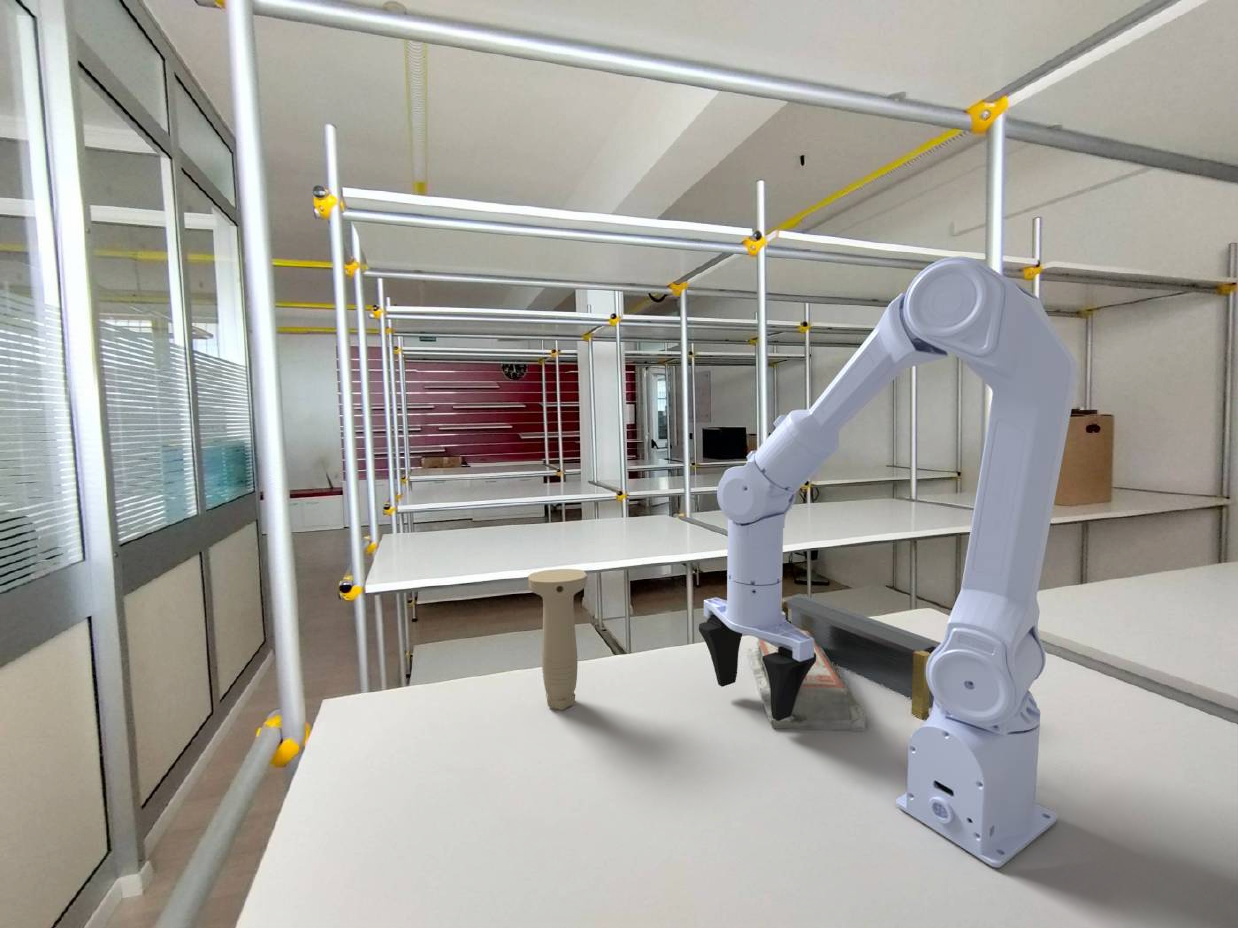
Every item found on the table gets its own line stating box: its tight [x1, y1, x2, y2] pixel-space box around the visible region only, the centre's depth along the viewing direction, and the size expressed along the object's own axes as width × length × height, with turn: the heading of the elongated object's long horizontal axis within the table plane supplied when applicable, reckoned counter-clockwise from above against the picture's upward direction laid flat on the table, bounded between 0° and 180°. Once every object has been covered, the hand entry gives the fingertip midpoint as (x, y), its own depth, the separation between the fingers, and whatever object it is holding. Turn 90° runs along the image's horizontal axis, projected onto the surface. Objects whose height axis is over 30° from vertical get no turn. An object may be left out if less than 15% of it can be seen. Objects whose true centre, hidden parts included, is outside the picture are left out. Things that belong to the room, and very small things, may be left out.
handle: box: [527, 568, 588, 711], centre depth 64 cm, size 5×6×15 cm
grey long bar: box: [782, 593, 941, 720], centre depth 70 cm, size 5×21×7 cm, turn 31°
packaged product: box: [746, 628, 867, 732], centre depth 67 cm, size 18×5×10 cm
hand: (752, 699), depth 62 cm, fingers open, 7 cm apart
